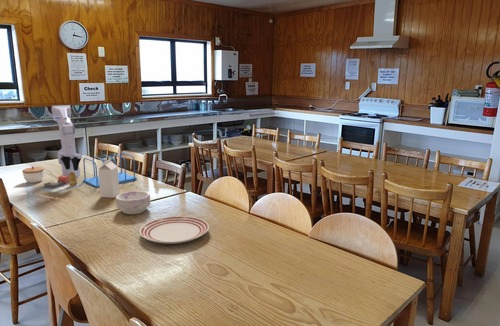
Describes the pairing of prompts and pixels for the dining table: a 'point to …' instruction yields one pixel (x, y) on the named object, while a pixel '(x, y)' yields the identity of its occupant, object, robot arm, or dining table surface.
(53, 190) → the board
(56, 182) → the dome
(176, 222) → the dinner plate
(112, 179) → the milk carton
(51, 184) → the dome housing
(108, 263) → the dining table surface
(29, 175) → the lidded jar
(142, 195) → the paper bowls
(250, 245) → the dining table surface
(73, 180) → the tan rounded peg
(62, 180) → the die
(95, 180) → the file sorter
